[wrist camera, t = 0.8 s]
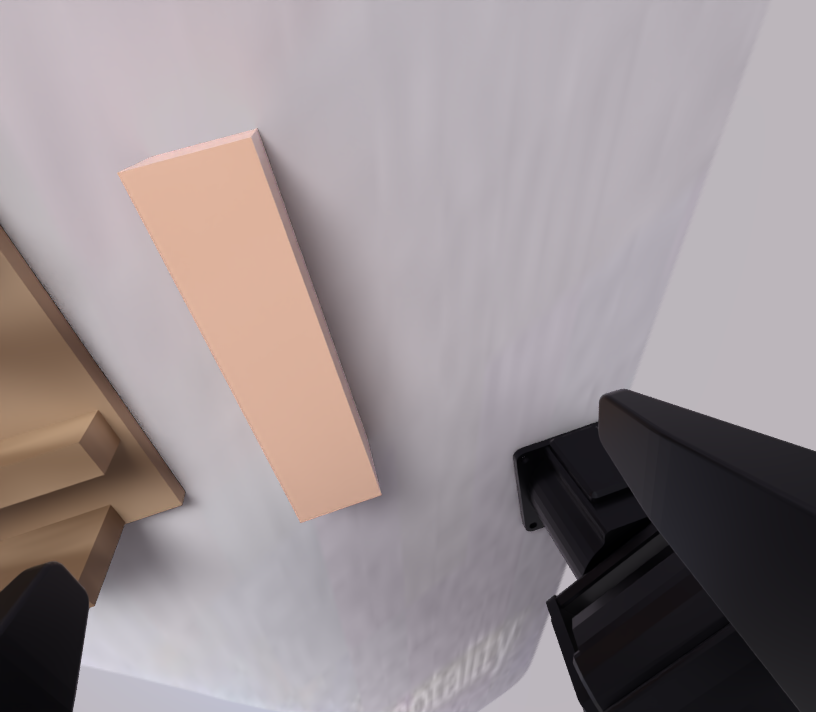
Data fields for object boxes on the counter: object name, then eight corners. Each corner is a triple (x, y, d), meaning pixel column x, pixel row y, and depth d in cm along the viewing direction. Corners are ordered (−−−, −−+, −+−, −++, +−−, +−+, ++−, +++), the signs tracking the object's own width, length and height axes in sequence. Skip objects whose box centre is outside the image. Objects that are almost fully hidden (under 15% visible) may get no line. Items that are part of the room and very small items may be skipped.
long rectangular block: (366, 435, 23) (381, 495, 20) (298, 458, 23) (300, 523, 19) (257, 128, 16) (251, 136, 12) (154, 155, 15) (117, 173, 12)
